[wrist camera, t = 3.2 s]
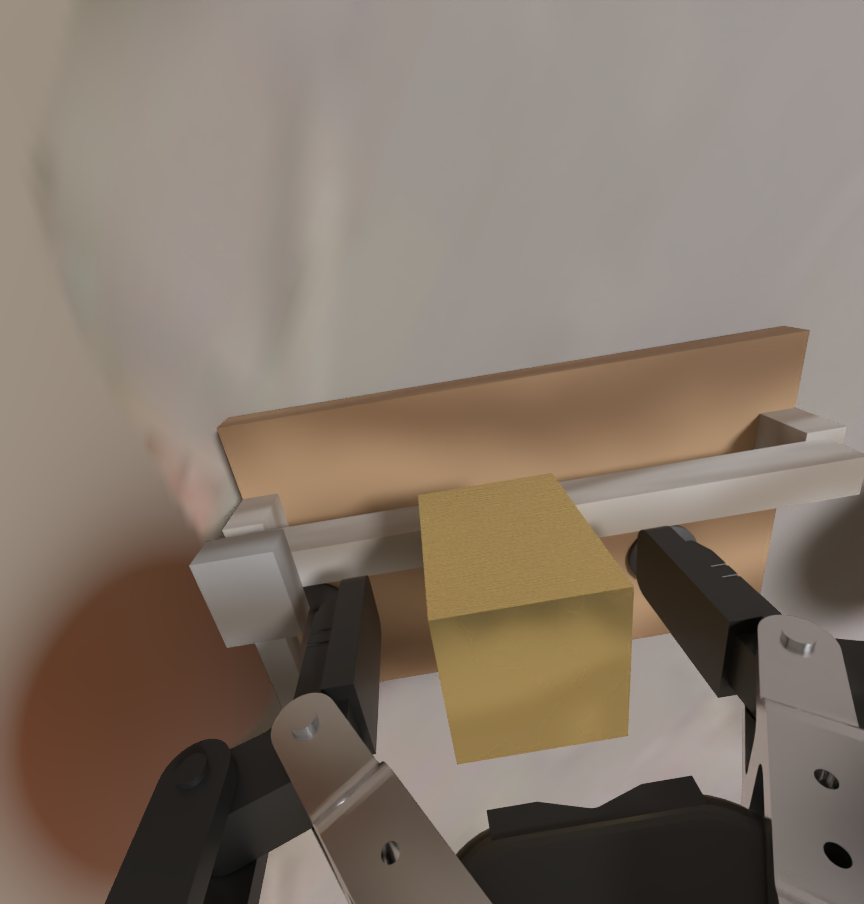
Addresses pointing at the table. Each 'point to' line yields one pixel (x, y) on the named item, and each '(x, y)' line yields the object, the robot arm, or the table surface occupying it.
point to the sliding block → (524, 619)
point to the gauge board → (511, 457)
